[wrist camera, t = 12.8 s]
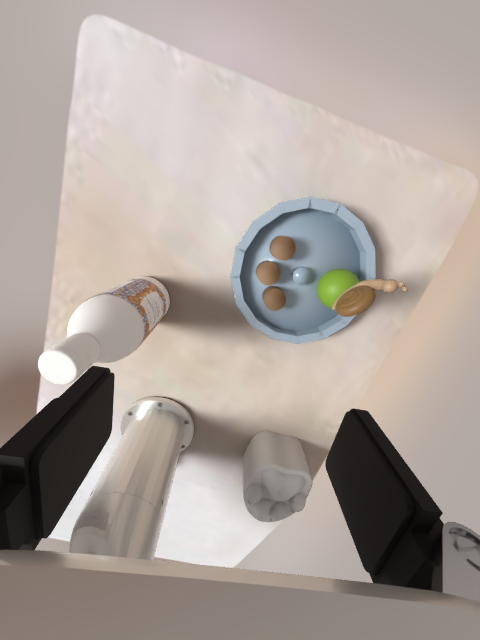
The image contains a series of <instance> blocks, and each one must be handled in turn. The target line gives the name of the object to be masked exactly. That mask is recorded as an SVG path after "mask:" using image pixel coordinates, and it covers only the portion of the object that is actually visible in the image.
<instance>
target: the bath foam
mask: <svg viewBox="0 0 480 640" xmlns="http://www.w3.org/2000/svg"><path fill="white" fill-rule="evenodd" d="M169 305H170V298H169V294H168V292H167V290H166V288H165V287H164V286H163V285H162V284H161V283H160V282H159V281H158V280H156V279H154V278H151V277H147V276H140V277H135V278H132V279H130V280H128V281H126V282H123V283H121V284H119V285H117V286H115V287H113V288H111V289H108V290H106V291H104V292H102V293H100V294H98V295H96V296H94V297H91V298H89V299H88V300H86V301H85V302H84V303H83V304H81V305H80V306H79V307H78V308H77V309H76V311H75V312H74V313H73V315H72V317H71V319H70V321H69V324H68V329H67V338H66V339H64V340H63V341H61V342H59V343H58V344H56V345H55V346H53V347H52V348H50V349H48V350H47V351H45V352H44V353H43V354H42V355H41V356H40V358H39V360H38V368H39V370H40V372H41V374H42V375H43V376H44V377H45V378H46V379H47V380H49V381H50V382H53V383H56V384H69V383H71V382H73V381H75V380H76V379H77V378H78V377H79V376H80V375H81V374H82V373H83V372H84V371H86V370H87V369H88V368H89V367H90V366H91V365H92V364H93V363H109V362H114V361H118V360H120V359H123V358H125V357H126V356H128V355H130V354H131V353H132V352H134V351H135V350H136V349H137V348H138V347H139V346H140V345H141V344H142V342H143V341H144V340H145V339H146V337H147V336H148V335H149V334H150V333H151V331H152V330H153V329H154V328H155V327H156V325H157V324H158V323H159V322H160V321H161V319H162V318H163V317H164V316H165V314H166V313H167V311H168V309H169Z"/></svg>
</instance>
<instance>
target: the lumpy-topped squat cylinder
mask: <svg viewBox="0 0 480 640" xmlns="http://www.w3.org/2000/svg"><path fill="white" fill-rule="evenodd" d="M311 487H312V477H311V474H310V471H309V467H308V464H307V461H306V457H305V454H304V451H303V448H302V444H301V442H300V440H299V439H297V438H296V437H293V436H284V435H279V434H276V433H274V432H270V431H262V432H260V433H258V434H256V435H255V436H254V437H253V438H252V439H251V441H250V443H249V445H248V446H247V449H246V451H245V454H244V457H243V494H244V501H245V505H246V507H247V510H248V511H249V513H250V514H251V515H252V516H253V517H254V518H256V519H257V520H259V521H263V522H273V521H279V520H282V519H284V518H287V517H288V516H290V515H292V514H293V513H295V512H299V511H301V510H302V509H303V508H304V506H305V501H306V498H307V496H308V494H309V492H310V489H311Z"/></svg>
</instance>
